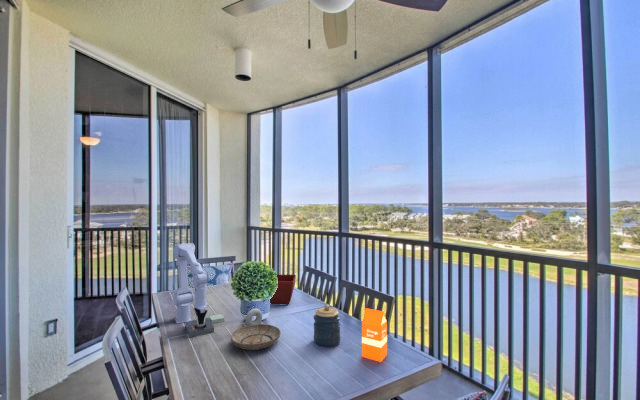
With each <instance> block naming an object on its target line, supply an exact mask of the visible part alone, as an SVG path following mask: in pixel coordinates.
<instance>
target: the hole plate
mask: <svg viewBox="0 0 640 400" xmlns="http://www.w3.org/2000/svg"><path fill="white" fill-rule="evenodd" d="M184 323H185V325H184V326H185V329H186V332H187V336H188V338H193V337H198V336H203V335H207V334H212V333H215V326H214V325H213V324H212V323H211V321H210V319H209V317H205V325H204V326H202V327H198V326H197V319H194V320H193V319H192V321H187V322H184Z"/></svg>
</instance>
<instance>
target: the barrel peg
mask: <svg viewBox="0 0 640 400" xmlns="http://www.w3.org/2000/svg"><path fill="white" fill-rule="evenodd" d="M196 320H197V326H198V327H202V326H204V325H205V319H204V323H203V324H200V325H199V323H198V317H197V316H196Z"/></svg>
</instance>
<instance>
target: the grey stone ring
mask: <svg viewBox="0 0 640 400" xmlns="http://www.w3.org/2000/svg"><path fill="white" fill-rule="evenodd" d="M254 316H255V319H254V320H253V318H254ZM262 320H263V312H262V311H261V310H260V308H251V309H250V310H249V311H248V312H247V314H246V316H245V324H246V326H250V325H258V324H261V322H262Z"/></svg>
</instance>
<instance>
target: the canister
mask: <svg viewBox="0 0 640 400" xmlns="http://www.w3.org/2000/svg"><path fill="white" fill-rule="evenodd" d="M314 313H315V314H314V315H313V319H314V322H313V342H314V344H315V345H317V346H318V347H321V348H334V347H336V346H338V345H340V343H341V322H340V320H341V316H340V315H339V311H338V310H337V309H336V308H334V307H330V305H329V304H325V305H324V306H323V307H319V308H318V309H317V310H315V312H314Z"/></svg>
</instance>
